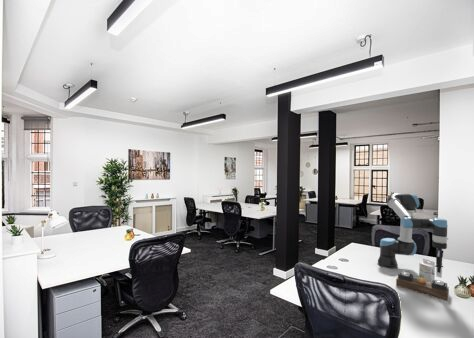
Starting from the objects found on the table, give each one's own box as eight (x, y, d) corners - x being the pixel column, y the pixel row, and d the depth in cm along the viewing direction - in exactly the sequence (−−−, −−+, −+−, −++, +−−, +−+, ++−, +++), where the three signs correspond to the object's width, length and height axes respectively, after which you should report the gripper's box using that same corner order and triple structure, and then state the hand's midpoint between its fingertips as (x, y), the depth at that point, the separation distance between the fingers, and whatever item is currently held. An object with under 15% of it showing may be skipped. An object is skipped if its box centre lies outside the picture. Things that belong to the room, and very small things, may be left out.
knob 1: (402, 276, 180) (402, 270, 180) (410, 278, 176) (410, 273, 176) (400, 278, 176) (400, 272, 176) (408, 280, 173) (408, 274, 173)
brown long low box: (399, 280, 184) (400, 270, 184) (448, 294, 164) (448, 282, 164) (396, 285, 175) (396, 274, 175) (447, 300, 156) (447, 288, 156)
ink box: (418, 277, 190) (418, 258, 191) (422, 276, 192) (422, 258, 193) (431, 282, 182) (431, 262, 183) (435, 281, 184) (435, 261, 185)
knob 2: (434, 285, 167) (434, 279, 167) (444, 287, 163) (444, 281, 163) (434, 287, 163) (434, 281, 163) (443, 289, 160) (443, 283, 160)
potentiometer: (418, 280, 173) (418, 276, 173) (426, 282, 170) (426, 278, 170) (417, 282, 170) (417, 277, 170) (425, 284, 167) (425, 279, 167)
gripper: (446, 245, 156) (445, 281, 156) (447, 241, 166) (447, 275, 166) (431, 242, 162) (430, 277, 162) (433, 238, 171) (433, 272, 171)
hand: (438, 276), depth 164 cm, fingers closed
